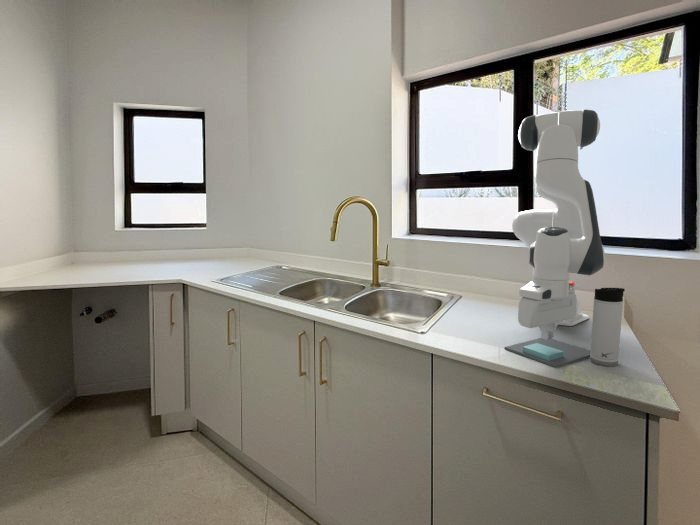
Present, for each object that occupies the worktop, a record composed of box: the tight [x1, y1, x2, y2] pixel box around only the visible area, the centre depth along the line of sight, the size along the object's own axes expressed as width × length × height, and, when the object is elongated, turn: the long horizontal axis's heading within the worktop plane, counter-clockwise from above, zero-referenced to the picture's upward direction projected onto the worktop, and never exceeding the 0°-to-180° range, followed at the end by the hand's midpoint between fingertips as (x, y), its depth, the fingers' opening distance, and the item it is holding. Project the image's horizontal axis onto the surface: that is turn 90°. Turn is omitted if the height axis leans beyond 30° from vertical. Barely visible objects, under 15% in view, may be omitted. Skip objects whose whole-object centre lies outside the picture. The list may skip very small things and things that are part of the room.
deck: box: [523, 343, 564, 361], centre depth 112 cm, size 1×8×6 cm
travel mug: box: [589, 287, 625, 367], centre depth 106 cm, size 6×7×20 cm
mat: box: [504, 337, 591, 369], centre depth 115 cm, size 18×16×1 cm
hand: (547, 338), depth 112 cm, fingers closed
